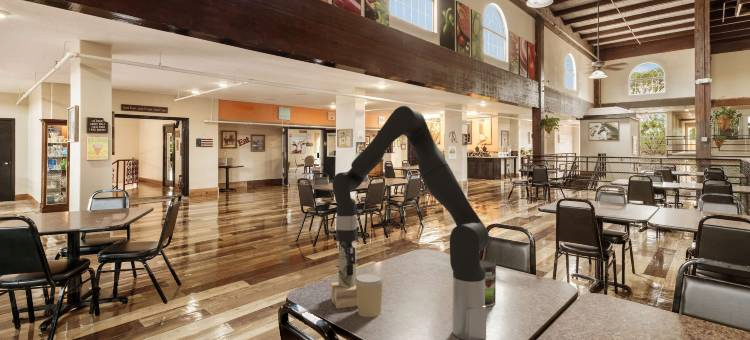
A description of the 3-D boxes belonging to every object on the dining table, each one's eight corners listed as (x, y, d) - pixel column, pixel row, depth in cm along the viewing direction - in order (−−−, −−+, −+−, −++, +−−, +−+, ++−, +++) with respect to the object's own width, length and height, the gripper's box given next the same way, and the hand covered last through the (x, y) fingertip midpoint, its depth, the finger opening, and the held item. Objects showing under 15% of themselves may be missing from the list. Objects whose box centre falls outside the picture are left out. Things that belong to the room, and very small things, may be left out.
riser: (364, 304, 135) (364, 288, 135) (336, 308, 132) (336, 291, 132) (356, 294, 144) (356, 279, 144) (330, 298, 141) (330, 282, 141)
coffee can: (501, 305, 134) (502, 265, 133) (475, 308, 131) (475, 268, 131) (485, 294, 144) (486, 258, 143) (461, 297, 141) (461, 260, 141)
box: (338, 286, 137) (337, 251, 136) (344, 282, 141) (344, 248, 140) (350, 288, 134) (350, 252, 134) (356, 284, 138) (356, 249, 138)
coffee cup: (367, 304, 135) (367, 271, 135) (388, 311, 129) (388, 276, 129) (350, 313, 128) (349, 278, 127) (371, 321, 122) (371, 284, 121)
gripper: (362, 230, 131) (362, 276, 132) (351, 223, 145) (351, 265, 146) (341, 231, 129) (341, 279, 130) (332, 224, 142) (332, 267, 143)
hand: (346, 271), depth 138 cm, fingers open, 8 cm apart
